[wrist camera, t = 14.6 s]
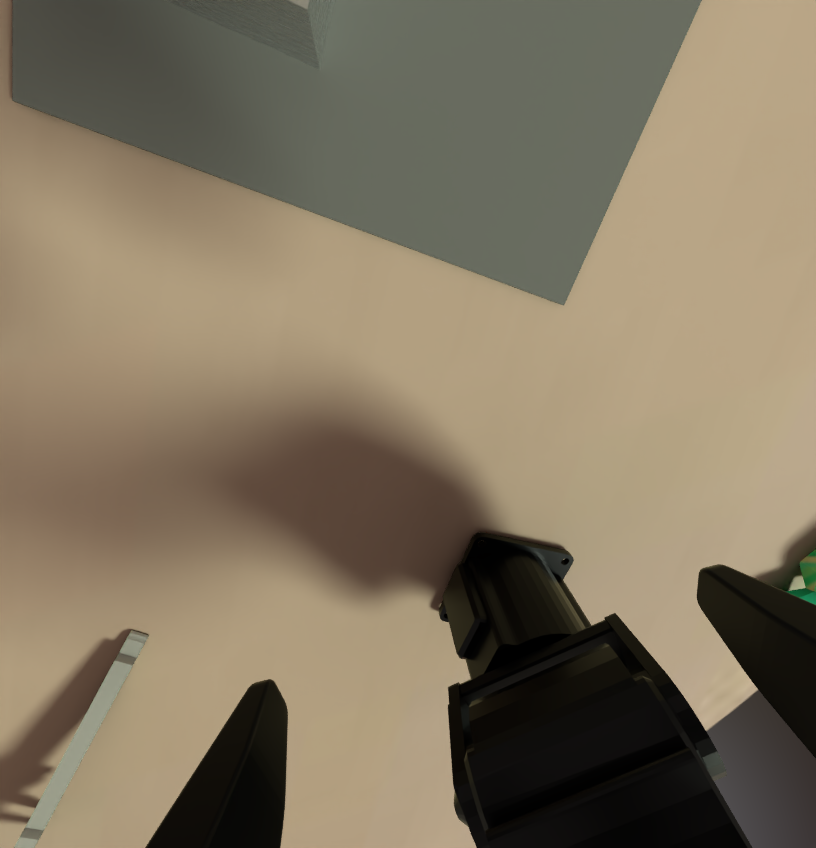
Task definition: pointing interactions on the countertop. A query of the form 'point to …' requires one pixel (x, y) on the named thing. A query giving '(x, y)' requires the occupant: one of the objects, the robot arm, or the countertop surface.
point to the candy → (807, 579)
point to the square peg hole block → (272, 23)
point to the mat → (382, 112)
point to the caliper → (82, 739)
